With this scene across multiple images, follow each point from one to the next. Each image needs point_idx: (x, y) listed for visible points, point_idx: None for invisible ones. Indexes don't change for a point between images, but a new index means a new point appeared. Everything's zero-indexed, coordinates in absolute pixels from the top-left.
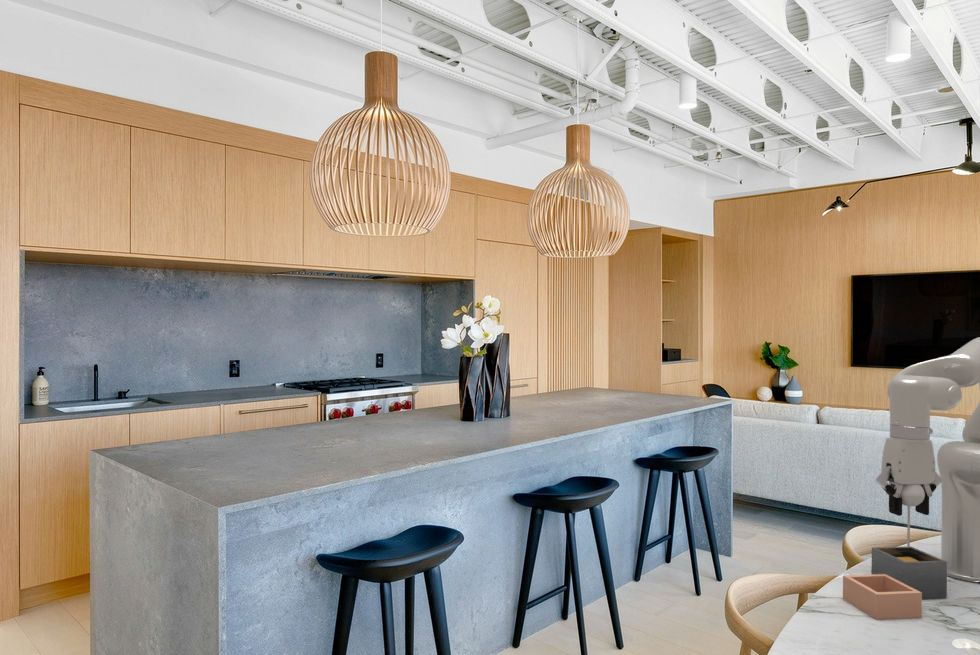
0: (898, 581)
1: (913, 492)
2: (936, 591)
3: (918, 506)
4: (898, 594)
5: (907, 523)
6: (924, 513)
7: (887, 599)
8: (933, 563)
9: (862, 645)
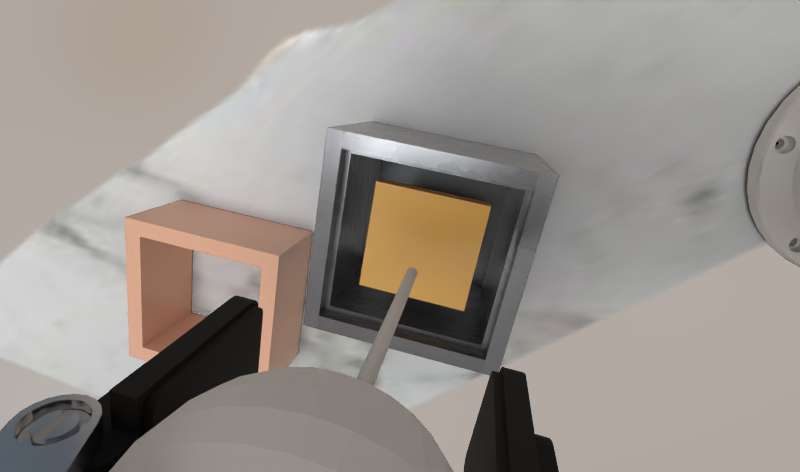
0: (267, 317)
1: None
2: None
3: (486, 433)
4: None
5: (380, 329)
6: (469, 454)
7: None
8: (431, 357)
9: (74, 383)
